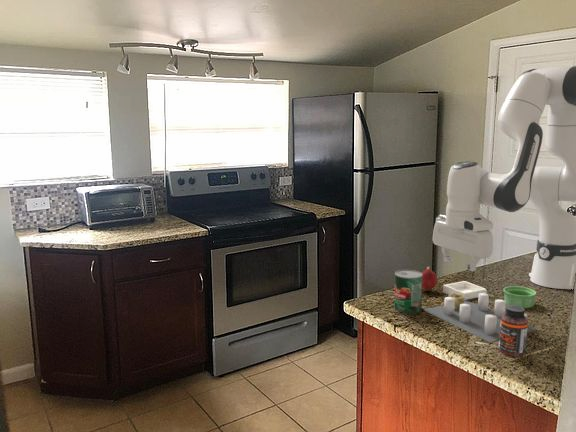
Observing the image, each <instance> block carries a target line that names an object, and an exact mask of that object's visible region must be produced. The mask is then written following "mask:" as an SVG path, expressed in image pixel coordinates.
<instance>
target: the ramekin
mask: <svg viewBox="0 0 576 432" xmlns="http://www.w3.org/2000/svg"><path fill="white" fill-rule="evenodd" d="M502 291H503V295H504V296H503V297H504V298H503V299H504V301H506V305H507V306H509V305H516V306H520V307H523V308H524V309H529V308H530V309H531V308H533V307H534V304H535V299H536V296H537V292H536V290H534V289H532V288H529V287H526V286H521V285H520V286H518V285H511V286H509V285H508V286H505V287H504V288H503V290H502Z"/></svg>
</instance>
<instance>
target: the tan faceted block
mask: <svg viewBox="0 0 576 432" xmlns="http://www.w3.org/2000/svg"><path fill="white" fill-rule="evenodd" d="M447 297H452V298H454V299H455V307H454V310H460V304H464V301H465V300H464V296H463V295H461V294H455V293H453V294H449V295H448V294H447Z"/></svg>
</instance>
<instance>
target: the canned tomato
mask: <svg viewBox="0 0 576 432" xmlns="http://www.w3.org/2000/svg"><path fill="white" fill-rule="evenodd" d="M422 276H423V274H422V272H421V271H417V270H414V269H400V270H396V271H395V272H394V303H393V305H394V306H393V307H394V310H395V311H397V312H400V313H404V314H416V313H419V312H421V311H422V306H423V305H422V302H423V301H422V299H423V298H422V297H423V296H422V295H423V288H422Z"/></svg>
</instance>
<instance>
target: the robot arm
mask: <svg viewBox="0 0 576 432" xmlns="http://www.w3.org/2000/svg"><path fill="white" fill-rule="evenodd" d="M547 105H548V110H547V117H546V118H547V119H546V130H545V131H546V132H545V147H546V150H547V151H548V152H549V153H550V154H551V155H553V156H555V157H557V158H559V159H560V160H561V161H562V162H563V163H564V166H547V165H546V166H545V165H540V166H536V165H537V162H538V158H539V156H540V152H541V149H542V148H541V147H542V143H543V137H544V136H543V135H544V133H543V128H542V127H541V125H540V119H541V117H542V115H543V113H544V110H545V107H546V106H547ZM497 124H498V127H499V129H500V130H501V132H502V133H503V134H504V135H506V136H507V137H508V138H510V139H512V140H514V141H516V142H517V143H518V145H517V146H518V147H517V152H516V155H515V157H514V162H513V165H512V169H511V170H510V171H509V172H508V173H505V174H504V173H495V172H489V171H488V170H485V169H484V168H482V167H481V166H480V164H479V163H478V162H476V161H474V160H473V161H471V160H470V161H461V162H460V161H459V162H457V163H454V164H453V165H451V167H450V169H449V173H448V178H447V183H446V185H447V187H446V196H447V205H446V206H445V207H446V208H445V215H444V214H439V215H437V216H436V217H435V223H434V226H433V233H432V239H431V240H432V243H433V244H434V245H436V246H439V247H441V248H440V249H441V252H442V256H443V262H445V263H447V264H450V263H452V262H453V256H451V254H450V253H451V252H450V251H454V252H458V253H461V254H465V255H468V256H470V260H471V261H470V263H468V264H467V270H468V271H470V272H475V271H477V265H478V264H479V262H480V260H481V259H482V260H483V259H489V258H490V257H491V256H492V255H493V249H494V237H493V232H492V231H491V230H493V228H494V223H493V222H492V221H491V220H490V219H488V218H486V217H485V216H483V215H482V214H481V213H480V206H479V205H481V206H485V207H489V208H494V209H495V208H496V209H498V210H502V211H504V212H508V213H515V212H517V211H520V210H521V209H522V208H523V207H525V206H526V205H527V203H528V202H529V200H530V201H531V202H532V204H533V205H534V207H535V209H536V211H537V214H538V219H539V220H538V221H539V223H538V224H539V226H538V227H539V233H538V239H537V240H536V253H535V254H534V257H533V262H532V267H531V272H529V273H528V276H529V277H530V279H529V280H530V282H532V283H533V284H534V285H535V284H536V285H538V286H540V287H545V288H549V289H550V288H552V289H557V290H558V289H559V290H571V289H572V290H571V291H574V290H573V285H574V282H575V273H576V217H575V216H574V215H573V214H572V213H570V212H568V211H566V210H565V209H563V208H562V206H561V205H560V201H561V202H562V201H563V202H564V201H565V202H571V203H572V202H574V203H576V65H574V66H562V65H561V66H551V67H544V68H531V69H528V70H525V71H523V72H522V73H521V74H520V75H519V76H518V78H517V79H516V81H515V82H514V83H513V85H512V86H511V88H510V90H509V91H508V94H507V95H506V96H505V100H504V101H503V103H502V105H501V107H500V110H499V112H498V116H497Z"/></svg>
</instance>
